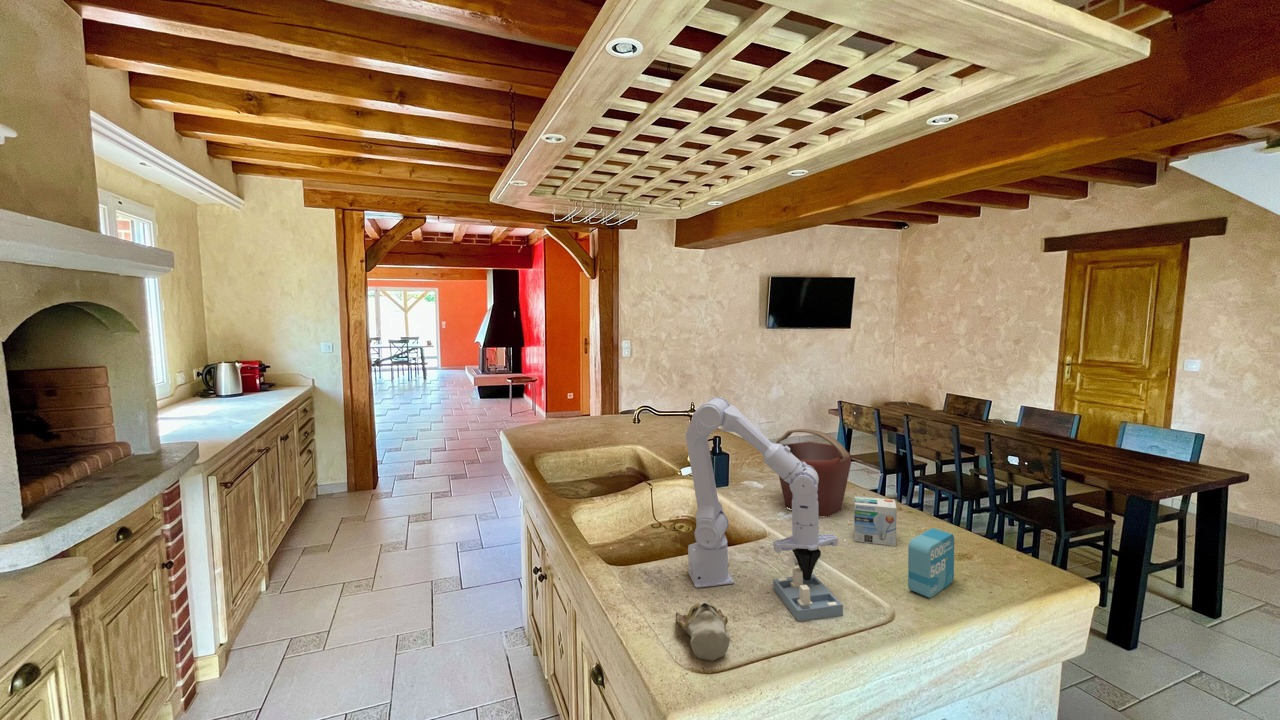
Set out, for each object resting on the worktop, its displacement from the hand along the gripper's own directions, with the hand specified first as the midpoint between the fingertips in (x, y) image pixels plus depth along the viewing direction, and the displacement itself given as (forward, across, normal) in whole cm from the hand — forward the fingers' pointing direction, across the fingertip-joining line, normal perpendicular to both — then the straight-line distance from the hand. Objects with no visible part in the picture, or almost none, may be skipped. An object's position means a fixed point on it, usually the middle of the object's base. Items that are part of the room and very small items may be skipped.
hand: (806, 578), depth 118 cm
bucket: (+4, +25, +47) cm, 53 cm away
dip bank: (+3, -2, -4) cm, 5 cm away
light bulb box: (+4, +30, +21) cm, 37 cm away
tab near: (+2, -4, -7) cm, 8 cm away
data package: (+4, +28, -4) cm, 29 cm away
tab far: (+2, -2, 0) cm, 3 cm away
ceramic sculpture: (+4, -27, -12) cm, 30 cm away
